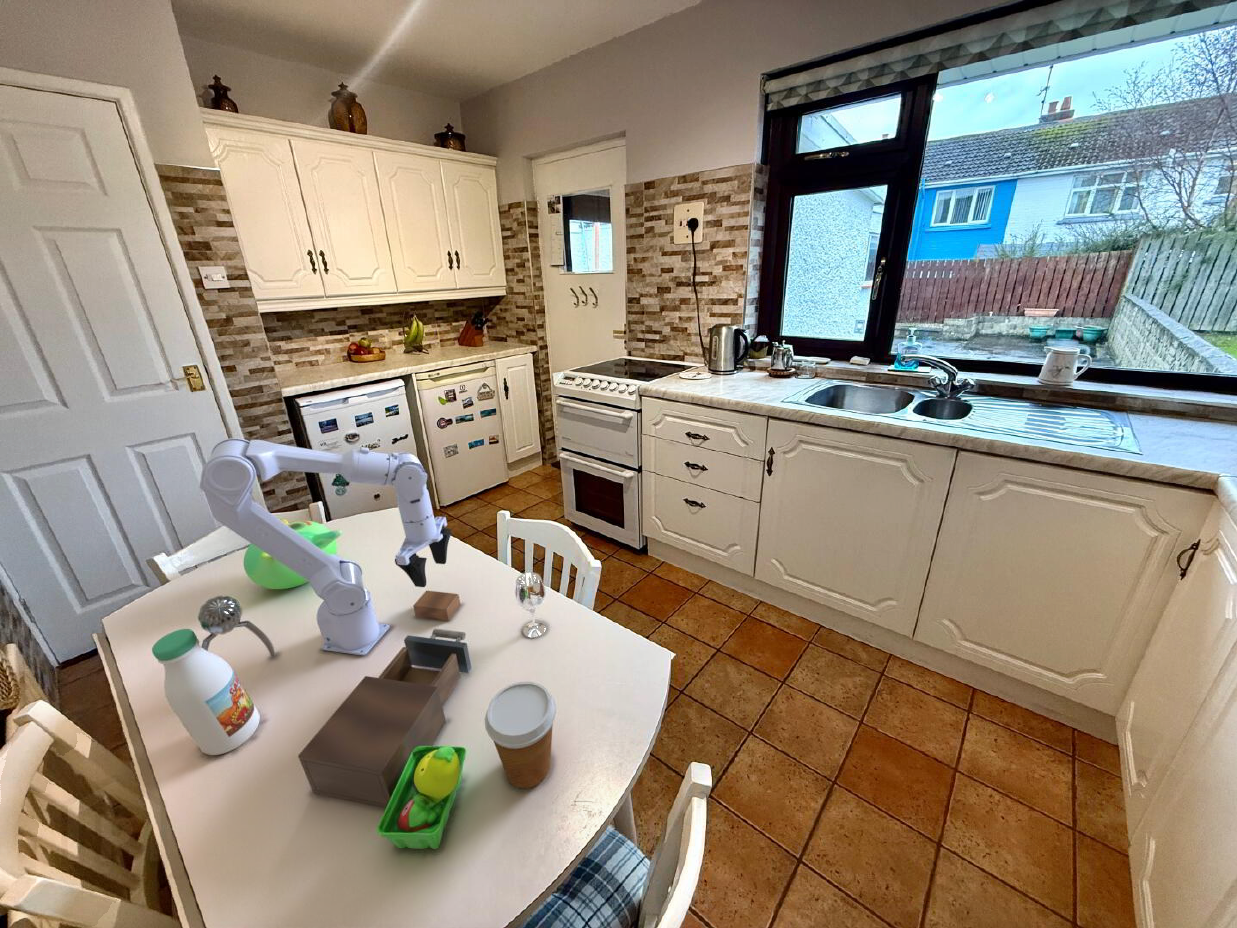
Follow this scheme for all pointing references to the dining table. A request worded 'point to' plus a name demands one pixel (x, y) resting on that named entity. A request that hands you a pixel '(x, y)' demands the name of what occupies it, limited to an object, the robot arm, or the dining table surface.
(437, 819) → the fruit basket
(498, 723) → the disposable coffee cup
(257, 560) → the toy bird
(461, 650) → the drawer
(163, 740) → the dining table surface
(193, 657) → the milk bottle
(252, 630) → the juicer
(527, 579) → the wineglass
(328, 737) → the cabinet
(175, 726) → the dining table surface
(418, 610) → the wooden block
